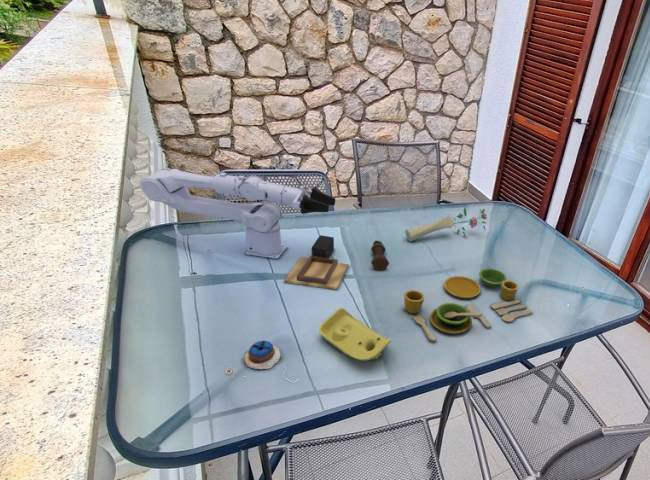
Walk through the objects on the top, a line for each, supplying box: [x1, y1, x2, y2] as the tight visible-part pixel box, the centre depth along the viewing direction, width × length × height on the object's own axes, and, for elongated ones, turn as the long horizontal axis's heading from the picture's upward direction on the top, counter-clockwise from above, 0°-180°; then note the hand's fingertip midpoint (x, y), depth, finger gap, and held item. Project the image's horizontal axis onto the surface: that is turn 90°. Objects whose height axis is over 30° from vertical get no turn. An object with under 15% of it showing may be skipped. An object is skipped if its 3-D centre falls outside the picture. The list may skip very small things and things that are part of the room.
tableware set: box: [403, 268, 533, 343], centre depth 137 cm, size 41×28×6 cm
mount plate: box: [284, 255, 349, 290], centre depth 133 cm, size 15×14×2 cm
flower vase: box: [404, 207, 488, 243], centre depth 173 cm, size 12×12×35 cm
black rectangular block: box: [311, 234, 335, 258], centre depth 142 cm, size 4×9×5 cm, turn 4°
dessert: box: [244, 340, 281, 370], centre depth 101 cm, size 8×7×6 cm
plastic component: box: [318, 307, 392, 361], centre depth 110 cm, size 20×7×10 cm
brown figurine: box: [370, 240, 390, 271], centre depth 148 cm, size 6×5×15 cm
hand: (331, 205), depth 131 cm, fingers open, 7 cm apart
